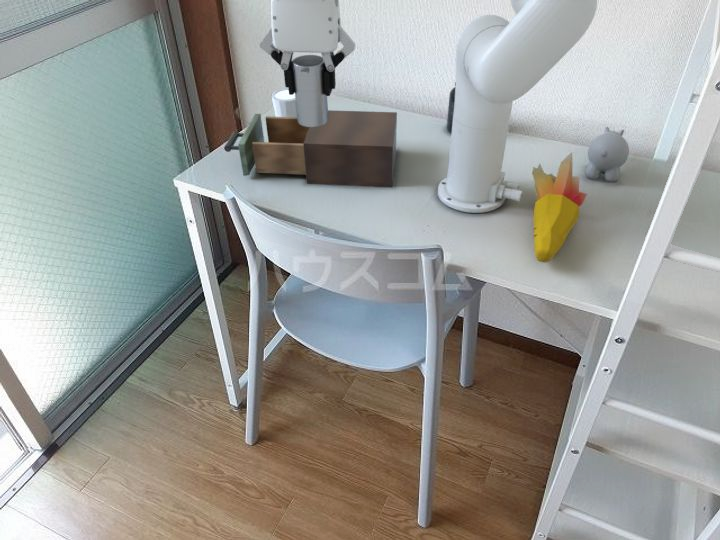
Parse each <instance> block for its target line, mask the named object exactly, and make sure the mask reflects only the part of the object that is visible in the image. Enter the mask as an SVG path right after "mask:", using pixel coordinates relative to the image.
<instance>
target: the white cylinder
mask: <svg viewBox="0 0 720 540" xmlns="http://www.w3.org/2000/svg"><path fill="white" fill-rule="evenodd" d="M271 101H272V106H273V110H274V114H275V117H297V110H296V99H295V93H294V94H293V95H289V89H288V88H282V89H279V90H275V91H273V92H272V94H271Z"/></svg>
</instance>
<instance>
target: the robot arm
mask: <svg viewBox="0 0 720 540" xmlns="http://www.w3.org/2000/svg"><path fill="white" fill-rule="evenodd" d="M339 1H340V0H270V23H271V25H270V26H271V27H270V29H269V30H268V31H267V33H266V34H265V36H264V38H263V39H261V42H260V44H259V48H260V49H261V50H263V51H264V52H265V53H266V54H267V55H269V56H271V58H272V59H273V60H274V61H275V63H277V65H279V66H280V69H281V70H282V71H283V77H284V87H285V88H287V89H289V95H293V94H294V93H295V88H294V78H293V67H292V60H293V59H294V58H293V57H294V54H295V53H310V54H311V53H316V54H321V57H323V60H324V62H325V65H326V67H325V71H324V87H325V95H326V96H327V97H330V96H331V94H332V91H333V90H335V89H336V68H337V67H338V66H339V65H340V64H341V63H342V62H343V61H344V59H346V58H347V57H348V56H349V55H350V54H352V53H353V52H354V51H355V50H356V46H357V44H356V43H355V42H354V40H353V39H352V38H351V36H350V35H349V34H348V33H347V32H346V31H345V29H344V28H343V27H342V22H341V21H342V19H341V10H340V2H339ZM510 4H511V7H512V9H513V11H514V13H515V16H514V17H513V18H512V19H511V20H510V21H509V20H508V19H506V18H504V17H502V16H499V15H496V14H483V15H481V16H478V17H476V18H474V19H472V20H471V21H470V22H468V24H467V25H466V26H465V27H464V28H463V30H462V31H461V33H460V35H459V38H458V40H457V44H456V50H455V82H456V87H455V86H454V87H455V103H454V114H453V123H452V134H451V133H450V134H451V136H450V145H449V155H448V167H447V176H446V177H445V178H443V179H442V180H441V181H439V184H438V187H437V196H438V198H439V201H441V202H442V203H443V204H444V205H446V206H447V207H449V208H451V209H454V210H456V211H458V212H459V211H460V212H464V213H473V214H480V213H482V214H483V213H488V212H492V211H494V210H496V209H498V208H500V207H501V206H502V205H503V204H504V203H505V201H506V199H509V200H510V201H511V200H512V201H516V202H521V200H522V197H523V190H520V189H519V187H520V184H519V183H515V182H509V181H507V180H506V179H505V176H506V172H504V171H502V169H503V162H504V157H505V153H506V152H505V151H506V145H507V139H508V134H509V133H508V132H509V125H510V121H511V116H512V115H511V114H512V110H513V109H512V108H513V102H514V101H516V100H518V99H520V98H522V97H523V96H524V95H526V94H527V93H528V92H529V91H531V89H533V88H534V87H535V86H536V85H537V84H538V83H539V82H540V81H541V80H542V79H543V78H544V77H545V76H546V75H547V74H548V73H549V72H550V71H551V70H552V69H553V68H554V67H555V66H556V65H557V64H558V63H559V62H560V61H561V59H563V58H564V57H565V56H566V54H568V53H569V51H570V50H572V48H573V47H575V45H576V44H577V43H579V41H580V40H581V39H582V37H584V35H585V34H586V32H587V31H588V29H589V28H590V26H591V24H592V22H593V20H594V17H595V15H596V12H597V7H598V0H510ZM339 43H341V44H342V46H343V47H342V48H341V49H339V50H338V51H337V52H336V53H335V51H336V50H337V49H338V45H339Z"/></svg>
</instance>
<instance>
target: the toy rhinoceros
mask: <svg viewBox="0 0 720 540" xmlns="http://www.w3.org/2000/svg"><path fill="white" fill-rule="evenodd" d="M624 132H625V129H620V130H619V131H616V130H611V129H610V127H609V126H605V128H604V133H601V134H599V135H598V136H596V137H595V138H594V139H593V140H591V142H590V144H589V146H588V150H587V158H588V160H589V161H588V164H587V168H586V170H585V172H584V175H585V177H586V178H588V179H590V180H597V179H598V178H599V177H600V174H601V175H604V180H606V181H607V182H608V183H609V182H610V183H615V182H617V181H618V180H619V178H620V174H621V173H620V169H621V167H622V166H623V165H625V163H626V161H627V160H628V157H629V156H630V155H629V154H630V146H629V144H628V143H629V142H627V140H626V139H625V138H624V137H623V135H624Z"/></svg>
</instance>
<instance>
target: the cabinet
mask: <svg viewBox="0 0 720 540" xmlns="http://www.w3.org/2000/svg"><path fill="white" fill-rule="evenodd" d="M328 119H329V120H328V122H327V123H326V124H324V125H322V126H318V127H309V130H308V133H307V135H306V138H305V141H304V143H303V145H304V156H305V168H306V175H305V178H306V184H307V185H308V184H309V185H310V184H311V185H333V186H335V185H337V186H360V187H384V188H385V187H386V188H393V181H394V172H395V163H396V153H397V130H398V129H397V128H398V127H397V124H398V112H396V111H395V112H394V111H366V110H365V111H362V110H361V111H360V110H331V109H328Z"/></svg>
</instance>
